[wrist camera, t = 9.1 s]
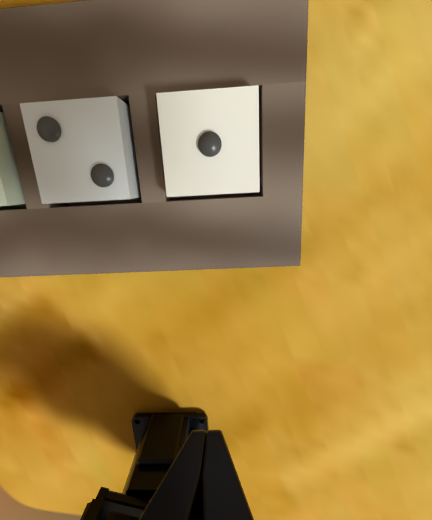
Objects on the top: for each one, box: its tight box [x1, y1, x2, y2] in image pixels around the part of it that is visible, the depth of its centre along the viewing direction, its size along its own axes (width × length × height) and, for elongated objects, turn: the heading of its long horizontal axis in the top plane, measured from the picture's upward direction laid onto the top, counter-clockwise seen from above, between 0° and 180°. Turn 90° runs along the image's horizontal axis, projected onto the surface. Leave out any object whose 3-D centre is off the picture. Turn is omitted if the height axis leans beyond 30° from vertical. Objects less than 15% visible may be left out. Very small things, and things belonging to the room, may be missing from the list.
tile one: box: [156, 85, 260, 197], centre depth 15 cm, size 5×5×3 cm
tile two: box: [20, 96, 141, 204], centre depth 16 cm, size 5×5×3 cm
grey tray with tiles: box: [0, 0, 308, 277], centre depth 17 cm, size 14×24×3 cm, turn 93°
